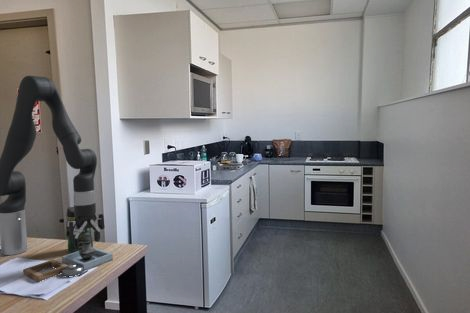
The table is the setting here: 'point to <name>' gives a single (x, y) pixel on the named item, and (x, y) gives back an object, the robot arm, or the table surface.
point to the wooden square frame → (33, 271)
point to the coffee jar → (71, 217)
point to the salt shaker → (86, 248)
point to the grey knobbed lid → (72, 270)
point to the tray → (99, 259)
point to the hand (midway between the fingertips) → (86, 244)
